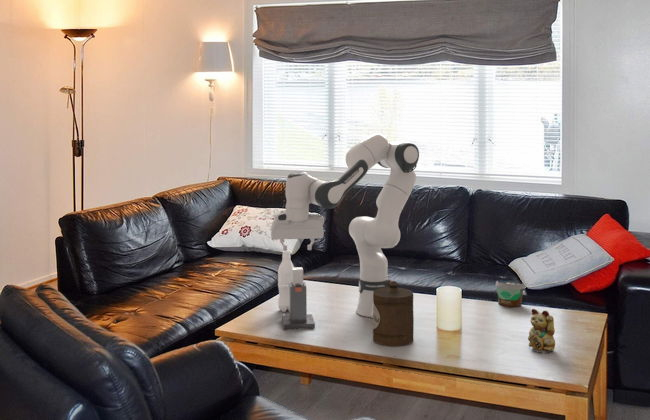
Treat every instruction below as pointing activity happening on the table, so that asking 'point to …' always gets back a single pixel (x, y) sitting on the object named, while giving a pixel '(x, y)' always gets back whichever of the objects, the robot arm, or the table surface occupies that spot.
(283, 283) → the water bottle
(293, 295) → the stand
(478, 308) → the table surface
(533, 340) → the decorative figurine
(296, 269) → the column
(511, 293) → the food container
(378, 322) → the wooden container
